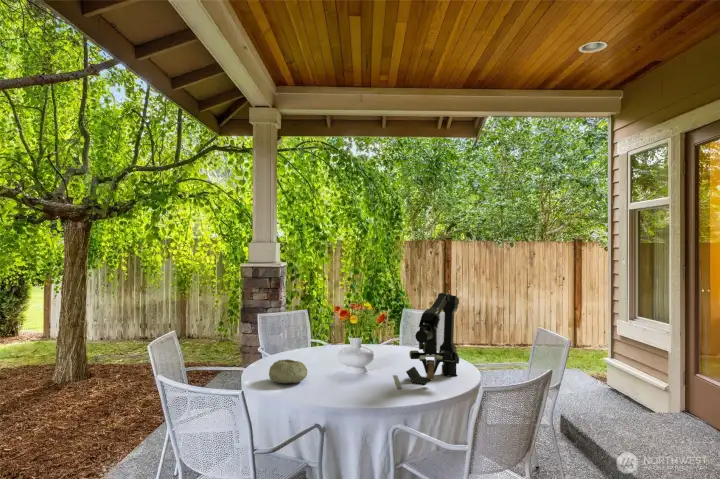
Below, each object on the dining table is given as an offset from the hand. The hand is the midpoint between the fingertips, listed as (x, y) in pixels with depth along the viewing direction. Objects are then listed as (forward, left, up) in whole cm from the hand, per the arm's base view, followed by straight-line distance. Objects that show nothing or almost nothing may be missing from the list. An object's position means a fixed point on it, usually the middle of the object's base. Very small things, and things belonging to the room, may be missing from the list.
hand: (430, 373), depth 207 cm
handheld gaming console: (+4, -9, -6) cm, 12 cm away
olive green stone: (+66, -7, -6) cm, 67 cm away
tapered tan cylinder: (0, 0, -2) cm, 2 cm away
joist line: (+14, -7, -6) cm, 17 cm away
